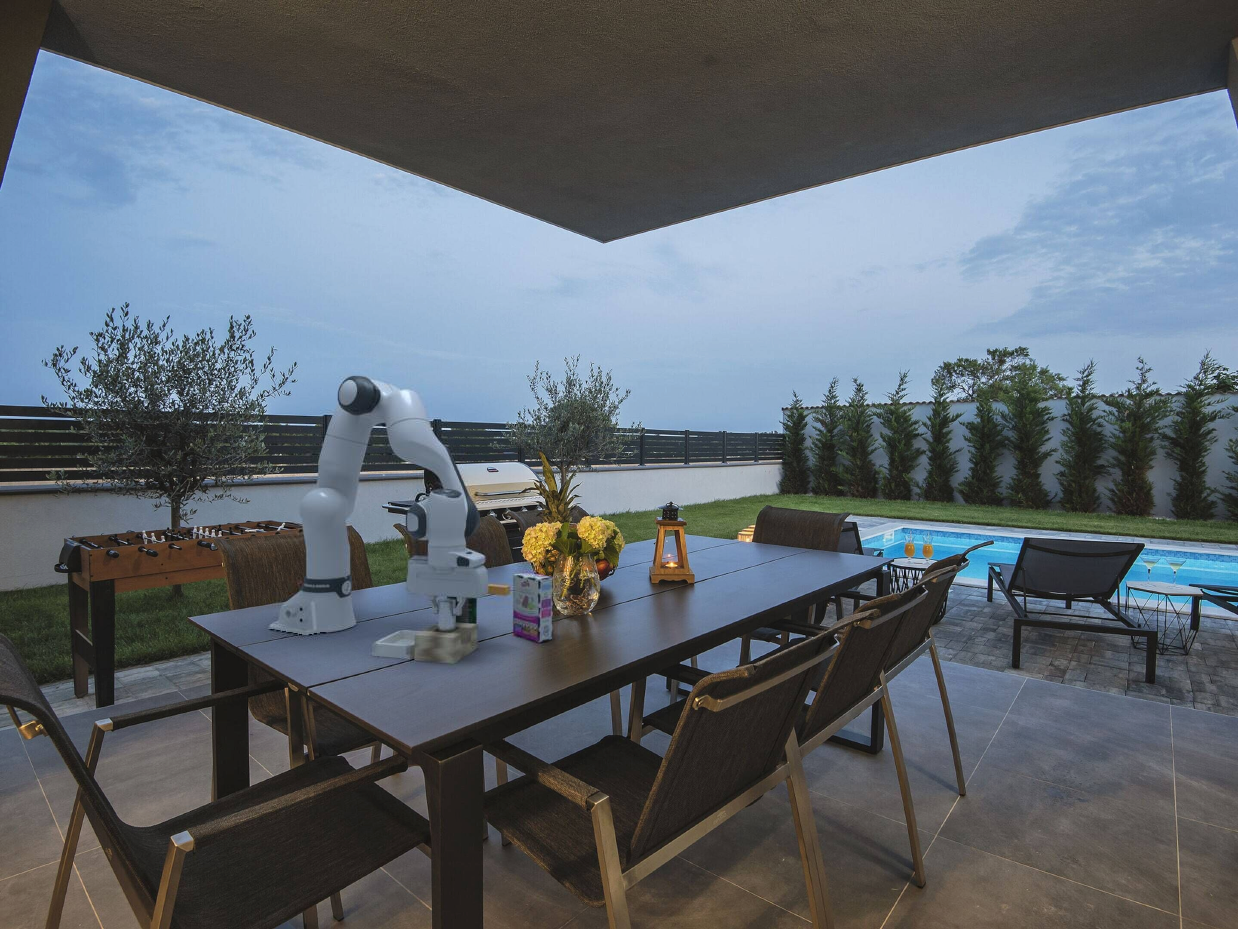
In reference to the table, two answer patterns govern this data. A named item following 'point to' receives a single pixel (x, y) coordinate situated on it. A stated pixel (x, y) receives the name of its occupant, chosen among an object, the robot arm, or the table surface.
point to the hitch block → (447, 641)
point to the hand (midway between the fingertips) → (446, 614)
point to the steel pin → (446, 615)
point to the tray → (396, 645)
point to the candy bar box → (533, 607)
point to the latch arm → (498, 589)
